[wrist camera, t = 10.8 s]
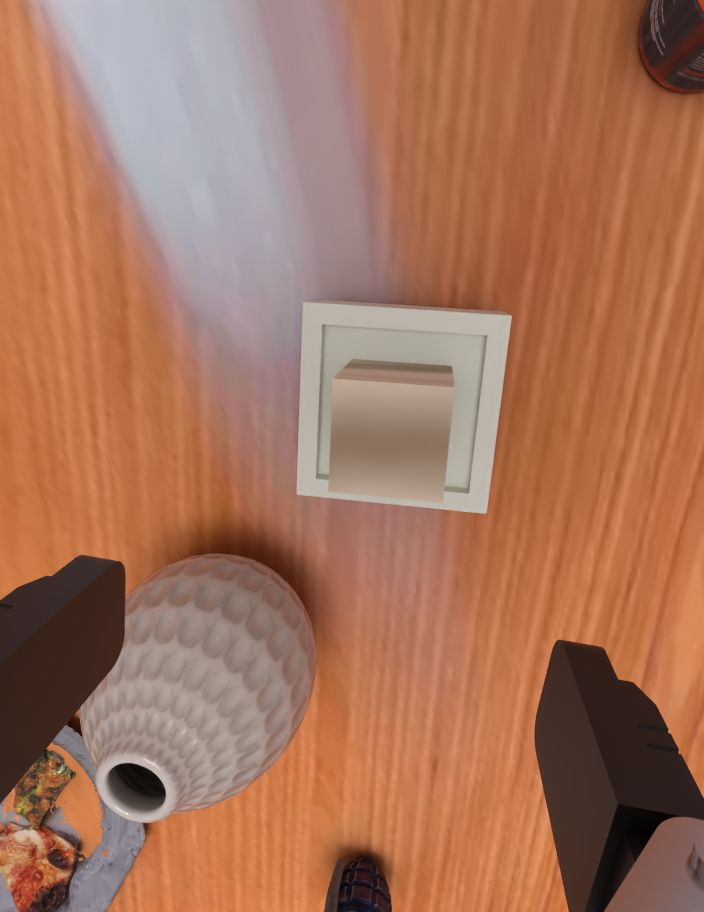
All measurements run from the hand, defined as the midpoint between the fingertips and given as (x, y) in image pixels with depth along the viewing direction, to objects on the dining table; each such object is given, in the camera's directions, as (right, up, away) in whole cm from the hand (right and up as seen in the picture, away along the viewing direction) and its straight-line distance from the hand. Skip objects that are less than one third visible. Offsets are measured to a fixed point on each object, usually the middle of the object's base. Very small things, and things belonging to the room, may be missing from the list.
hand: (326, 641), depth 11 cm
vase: (-7, -7, +33) cm, 34 cm away
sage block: (+3, +7, +23) cm, 24 cm away
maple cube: (+3, +6, +20) cm, 21 cm away
